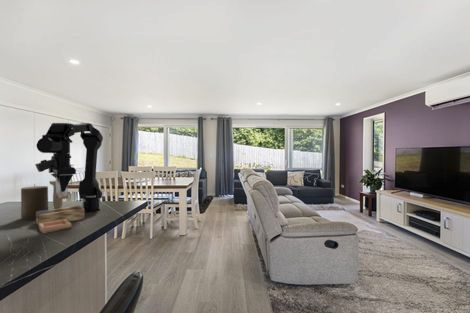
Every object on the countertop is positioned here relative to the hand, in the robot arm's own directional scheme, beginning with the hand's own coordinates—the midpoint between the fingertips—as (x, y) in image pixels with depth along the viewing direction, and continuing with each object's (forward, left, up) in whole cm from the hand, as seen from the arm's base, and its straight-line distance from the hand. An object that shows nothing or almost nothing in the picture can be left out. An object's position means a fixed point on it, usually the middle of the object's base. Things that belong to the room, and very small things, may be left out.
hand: (61, 191), depth 104 cm
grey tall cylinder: (0, 0, -3) cm, 3 cm away
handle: (-4, -29, -14) cm, 33 cm away
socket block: (-1, -6, -14) cm, 15 cm away
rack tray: (+3, +5, -14) cm, 15 cm away
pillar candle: (+6, -21, -14) cm, 26 cm away
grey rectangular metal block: (+5, -6, -11) cm, 14 cm away
